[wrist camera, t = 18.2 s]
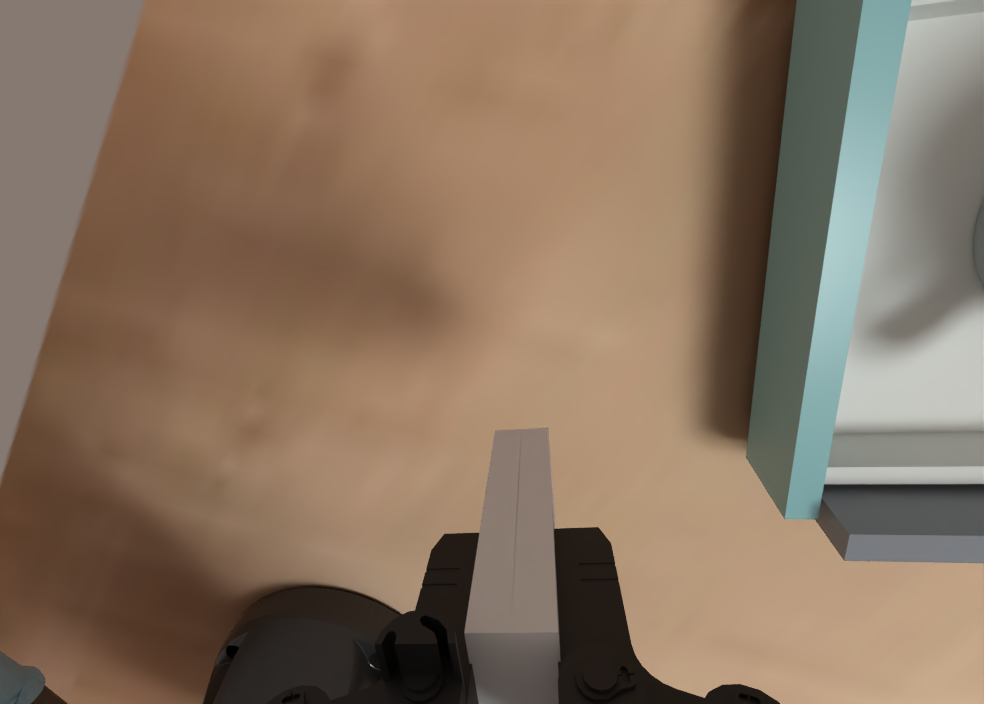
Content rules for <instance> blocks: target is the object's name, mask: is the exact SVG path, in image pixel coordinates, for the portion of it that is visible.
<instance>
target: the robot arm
mask: <svg viewBox="0 0 984 704" xmlns="http://www.w3.org/2000/svg"><path fill="white" fill-rule="evenodd" d="M0 704H67V703H66V702H65V701H64V700H63V699H61V698H60V697H59V696H58V695H56V694H55V693H54V692H53V691H51V690H50V689H49V688H48V687H46V686H45V677H44V676H43V674H42V673H41V671H40V670H39V669H37V668H35V667H31V666H21V665H20V664H18V663H17V662H15V661H14V660H13V659H11V658H10V657H8V656H7V655H5V654H4V653H3V652H1V651H0ZM203 704H780V703H779V702H778V701H776V700H775V699H773V698H771V697H770V696H768V695H767V694H765V693H763V692H762V691H760V690H758V689H754V688H751V687H748V686H744V685H741V684H732V685H721V686H719V687H717V688H715V689H713V690H712V691H710V692H708V694H707V695H706V697H705V698H703V697H700V696H696V695H693V694H690V693H687V692H684V691H681V690H678V689H675V688H673V687H670V686H668V685H666V684H663V683H662V682H660V681H659V680H658V679H656V678H655V677H653V676H652V675H651V674H650V673H649V672H648V671H647V670H646V669H645V668H644V667H643V666H642V665H641V664H640V662H639V660H638V659H637V657H636V656H635V653H634V651H633V648H632V645H631V640H630V635H629V630H628V625H627V620H626V615H625V610H624V605H623V601H622V596H621V591H620V586H619V582H618V576H617V571H616V566H615V561H614V556H613V551H612V546H611V543H610V542H609V540H608V539H607V538H606V536H605V535H604V534H603V533H602V531H601V530H600V529H599V528H598V527H593V528H563V529H556V527H555V510H554V497H553V484H552V472H551V459H550V446H549V434H548V428H535V429H517V430H499V431H495V434H494V441H493V447H492V454H491V461H490V467H489V474H488V480H487V487H486V493H485V500H484V507H483V513H482V520H481V526H480V533H457V534H444V535H443V536H442V538H441V539H440V540H439V541H438V543H437V544H436V545H435V546H434V548H433V549H432V550H431V554H430V558H429V561H428V565H427V572H426V573H425V576H424V580H423V583H422V588H421V591H420V595H419V598H418V602H417V606H416V609H415V611H410V612H407V613H405V614H403V615H401V616H400V615H398V614H397V613H395V612H394V611H392V610H390V609H388V608H387V607H385V606H383V605H381V604H379V603H377V602H374V601H372V600H370V599H367V598H364V597H361V596H359V595H355V594H352V593H348V592H344V591H339V590H334V589H326V588H295V589H289V590H284V591H280V592H276V593H274V594H271V595H268V596H266V597H264V598H262V599H261V600H259V601H257V602H256V603H254V604H253V605H252V606H251V607H250V608H248V610H247V611H246V612H245V613H244V614H243V615H242V617H241V618H240V620H239V621H238V623H237V624H236V626H235V627H234V629H233V630H232V632H231V633H230V635H229V636H228V638H227V639H226V641H225V642H224V644H223V646H222V648H221V650H220V652H219V654H218V656H217V659H216V662H215V666H214V669H213V672H212V675H211V678H210V681H209V685H208V688H207V691H206V694H205V697H204V701H203Z"/></svg>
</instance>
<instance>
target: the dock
mask: <svg viewBox="0 0 984 704" xmlns="http://www.w3.org/2000/svg"><path fill="white" fill-rule="evenodd" d="M815 520H816V522H817V523H818V524H819V526H820V527H821V529H822V530H823V531H824V533H825V534H826V536H827V537H828V538H829V540H830V541H831V543H832V544H833V546H834V547H835V548H836V550H837V551H838V553H839V554H840V555H841V557H842V558H843V560H844V561H890V562H945V563H984V484H824V488H823V493H822V499H821V504H820V510H819V515H818V519H815Z"/></svg>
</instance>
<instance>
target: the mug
mask: <svg viewBox="0 0 984 704" xmlns="http://www.w3.org/2000/svg"><path fill="white" fill-rule="evenodd" d="M974 258H975V263H976V268H977V271H978V274H979V277H980V279H981V282H982V283H983V285H984V202H983V204H982V206H981V209H980V212H979V215H978V219H977V223H976V227H975V235H974Z"/></svg>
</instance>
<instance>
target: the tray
mask: <svg viewBox="0 0 984 704" xmlns="http://www.w3.org/2000/svg"><path fill="white" fill-rule="evenodd" d="M983 202H984V0H797V2H796V11H795V20H794V29H793V38H792V47H791V56H790V65H789V74H788V83H787V92H786V101H785V110H784V119H783V128H782V137H781V146H780V155H779V164H778V173H777V182H776V191H775V200H774V209H773V218H772V227H771V236H770V245H769V254H768V263H767V272H766V281H765V290H764V299H763V309H762V318H761V327H760V336H759V345H758V354H757V363H756V372H755V381H754V390H753V399H752V408H751V417H750V426H749V435H748V444H747V453H746V458H747V460H748V461H749V463H750V465H751V466H752V468H753V469H754V471H755V473H756V474H757V476H758V477H759V479H760V481H761V482H762V484H763V485H764V487H765V489H766V490H767V492H768V493H769V495H770V497H771V498H772V500H773V501H774V503H775V505H776V506H777V508H778V509H779V511H780V513H781V514H782V516H783V517H784V519H818V515H819V510H820V504H821V499H822V493H823V488H824V484H984V285H983V283H982V282H981V279H980V277H979V274H978V271H977V268H976V263H975V258H974V235H975V227H976V223H977V219H978V215H979V212H980V209H981V206H982V204H983Z"/></svg>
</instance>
